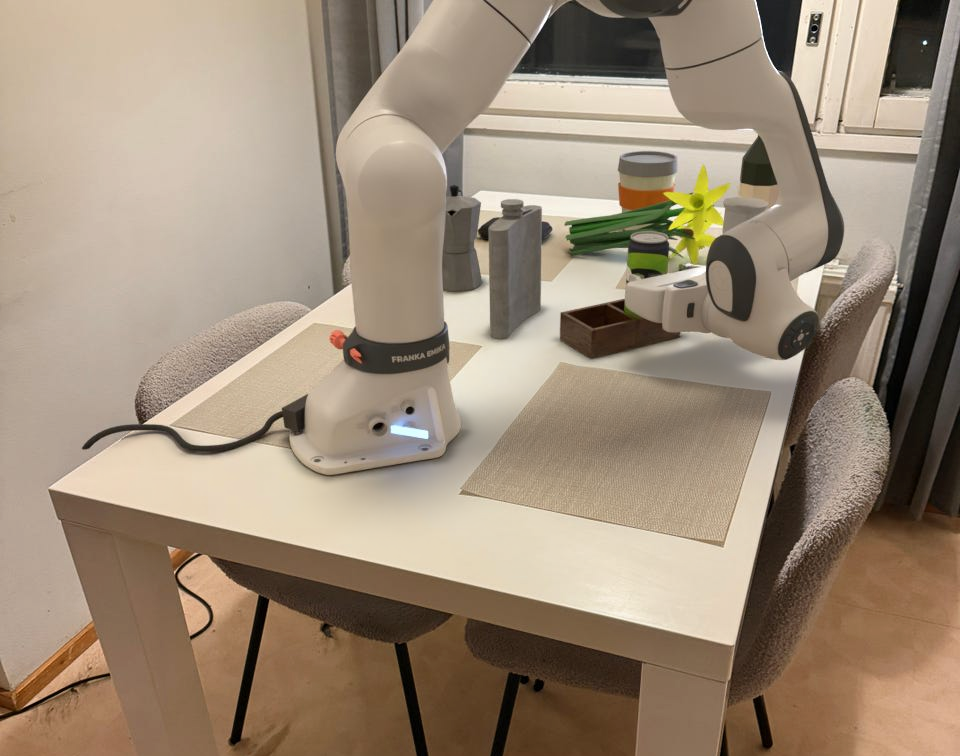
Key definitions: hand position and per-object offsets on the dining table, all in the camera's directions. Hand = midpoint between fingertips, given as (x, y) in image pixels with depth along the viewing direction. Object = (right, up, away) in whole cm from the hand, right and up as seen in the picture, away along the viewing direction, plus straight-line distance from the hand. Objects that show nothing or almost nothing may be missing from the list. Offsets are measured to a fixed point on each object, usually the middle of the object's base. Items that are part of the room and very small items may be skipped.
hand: (657, 273), depth 138 cm
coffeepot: (-31, +5, +32) cm, 45 cm away
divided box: (-5, -9, +6) cm, 12 cm away
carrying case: (-19, +21, +56) cm, 63 cm away
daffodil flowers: (+4, +11, +39) cm, 41 cm away
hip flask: (-22, -5, +14) cm, 26 cm away
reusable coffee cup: (+9, +23, +60) cm, 65 cm away
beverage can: (-1, -7, +8) cm, 11 cm away
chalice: (+16, -3, +17) cm, 23 cm away
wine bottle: (+29, +17, +48) cm, 59 cm away
